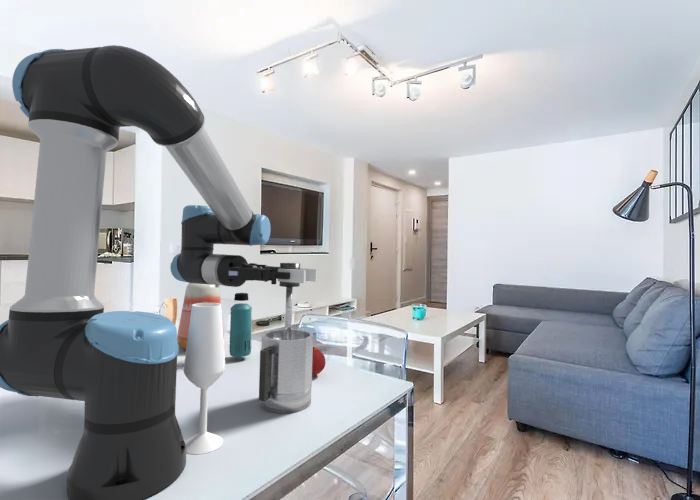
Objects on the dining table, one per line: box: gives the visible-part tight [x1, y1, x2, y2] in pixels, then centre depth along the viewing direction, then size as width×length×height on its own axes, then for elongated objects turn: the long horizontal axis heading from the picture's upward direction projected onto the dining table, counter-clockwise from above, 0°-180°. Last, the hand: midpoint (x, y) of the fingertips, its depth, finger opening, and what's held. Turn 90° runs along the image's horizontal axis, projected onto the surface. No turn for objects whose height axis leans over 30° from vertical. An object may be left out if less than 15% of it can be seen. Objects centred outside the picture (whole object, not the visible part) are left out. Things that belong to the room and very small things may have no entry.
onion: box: [312, 345, 326, 377], centre depth 99 cm, size 6×6×8 cm
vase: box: [177, 283, 225, 351], centre depth 123 cm, size 14×14×30 cm
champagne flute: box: [183, 303, 226, 455], centre depth 64 cm, size 7×7×24 cm
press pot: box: [258, 328, 314, 414], centre depth 80 cm, size 14×11×15 cm
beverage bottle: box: [228, 292, 253, 358], centre depth 112 cm, size 6×7×20 cm
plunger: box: [278, 262, 301, 340], centre depth 82 cm, size 8×8×19 cm
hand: (310, 276), depth 79 cm, fingers closed on plunger, 4 cm apart
